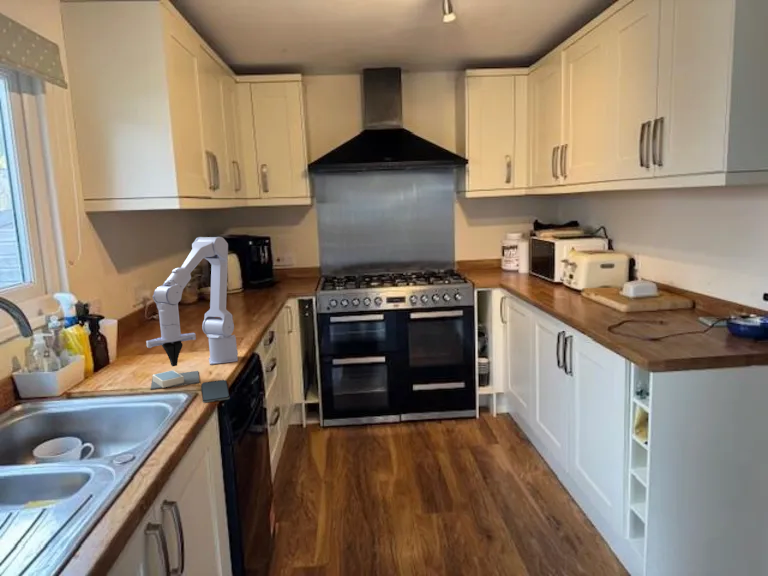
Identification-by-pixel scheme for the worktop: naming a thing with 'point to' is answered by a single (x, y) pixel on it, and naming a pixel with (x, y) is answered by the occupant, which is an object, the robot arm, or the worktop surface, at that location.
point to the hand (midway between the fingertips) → (174, 365)
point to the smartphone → (215, 391)
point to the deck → (168, 378)
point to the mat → (188, 379)
